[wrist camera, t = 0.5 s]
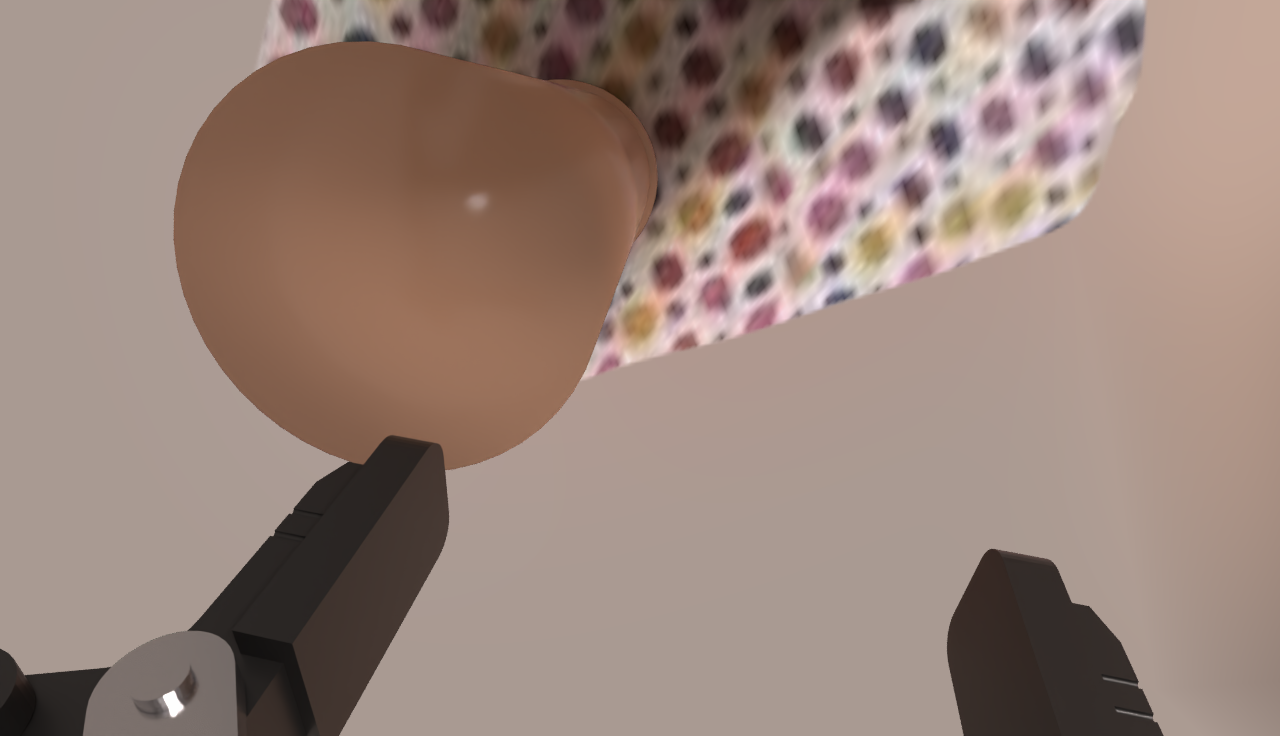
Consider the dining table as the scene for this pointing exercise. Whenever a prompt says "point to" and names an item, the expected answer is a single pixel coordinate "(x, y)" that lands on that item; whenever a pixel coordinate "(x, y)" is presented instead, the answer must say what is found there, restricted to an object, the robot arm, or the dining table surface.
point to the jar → (408, 244)
